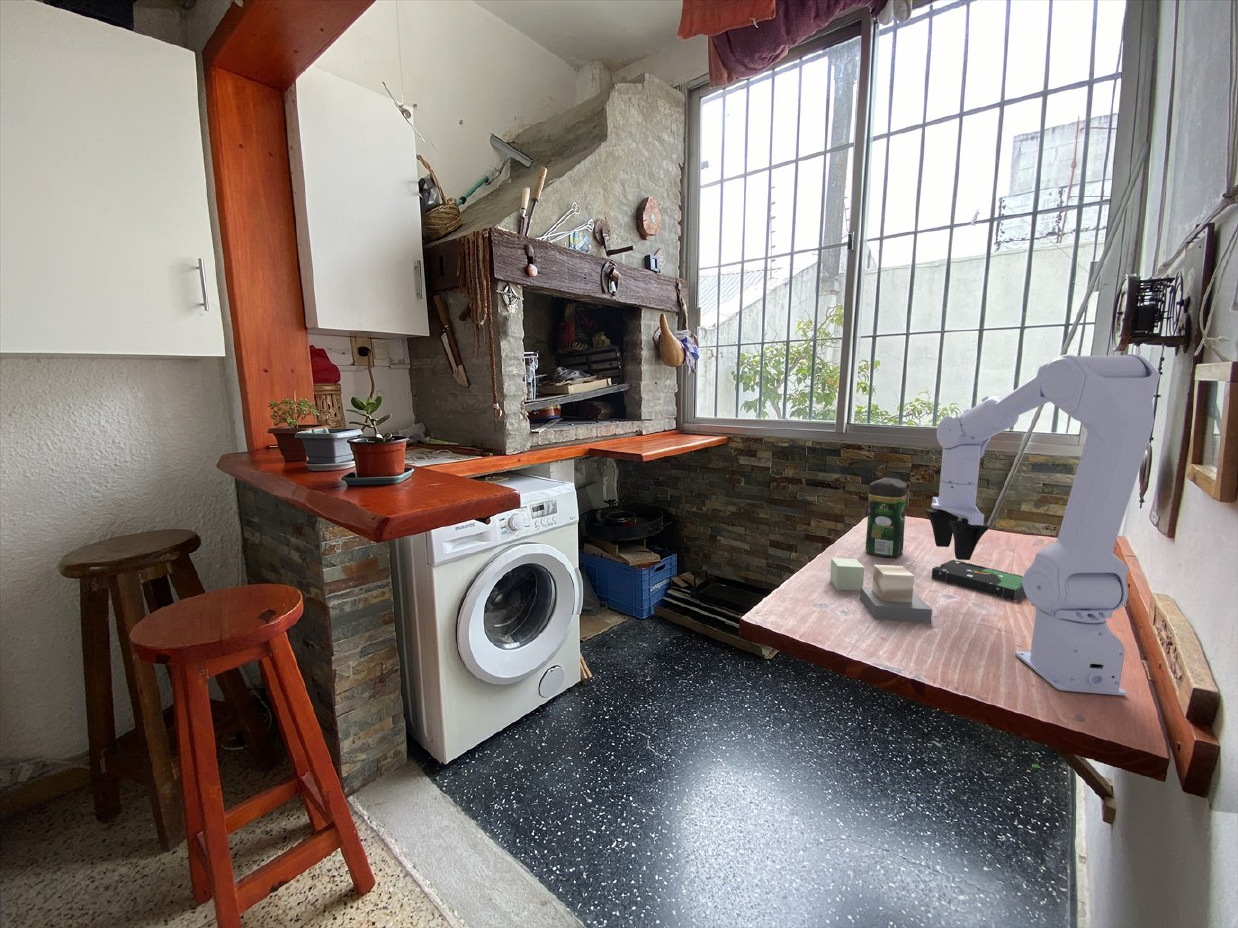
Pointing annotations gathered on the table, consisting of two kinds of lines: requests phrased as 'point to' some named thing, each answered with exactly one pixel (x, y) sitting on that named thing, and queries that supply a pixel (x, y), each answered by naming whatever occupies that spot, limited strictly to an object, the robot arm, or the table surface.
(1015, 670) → the table surface
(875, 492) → the coffee jar
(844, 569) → the sage cube
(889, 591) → the birch cube
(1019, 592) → the disk drive
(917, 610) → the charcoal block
